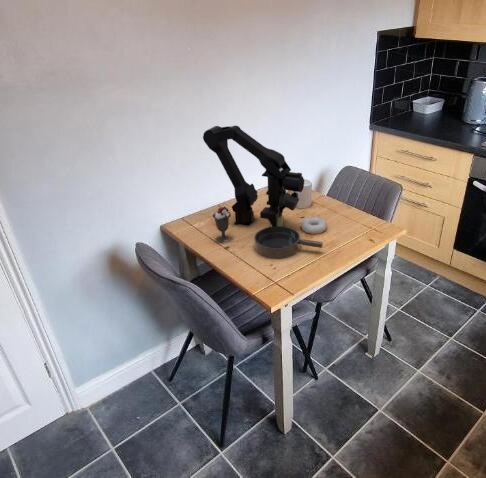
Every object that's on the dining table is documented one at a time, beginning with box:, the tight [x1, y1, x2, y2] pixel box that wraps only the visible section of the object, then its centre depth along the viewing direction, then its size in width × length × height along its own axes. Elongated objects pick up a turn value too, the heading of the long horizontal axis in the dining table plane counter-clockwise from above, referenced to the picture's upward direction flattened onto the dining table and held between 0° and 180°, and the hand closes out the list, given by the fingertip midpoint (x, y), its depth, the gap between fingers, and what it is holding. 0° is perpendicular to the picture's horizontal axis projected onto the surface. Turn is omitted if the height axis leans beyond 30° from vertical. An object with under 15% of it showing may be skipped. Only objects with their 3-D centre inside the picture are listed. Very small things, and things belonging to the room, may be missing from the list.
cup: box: [286, 178, 313, 209], centre depth 182 cm, size 8×12×10 cm
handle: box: [298, 239, 324, 249], centre depth 149 cm, size 8×2×2 cm, turn 72°
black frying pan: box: [253, 225, 301, 260], centre depth 153 cm, size 16×16×4 cm
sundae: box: [211, 204, 232, 244], centre depth 156 cm, size 7×7×15 cm
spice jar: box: [270, 210, 284, 227], centre depth 165 cm, size 5×5×7 cm
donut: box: [300, 216, 328, 235], centre depth 165 cm, size 10×4×10 cm
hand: (276, 225), depth 166 cm, fingers closed on spice jar, 4 cm apart
